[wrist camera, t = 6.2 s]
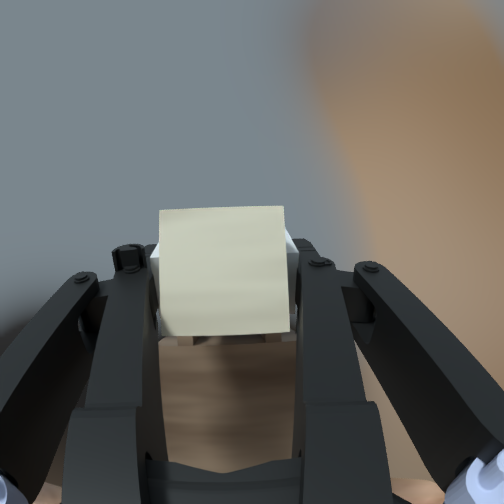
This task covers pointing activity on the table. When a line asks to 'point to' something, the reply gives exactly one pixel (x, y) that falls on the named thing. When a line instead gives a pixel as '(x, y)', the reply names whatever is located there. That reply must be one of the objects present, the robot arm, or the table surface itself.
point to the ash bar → (223, 271)
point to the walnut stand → (228, 399)
